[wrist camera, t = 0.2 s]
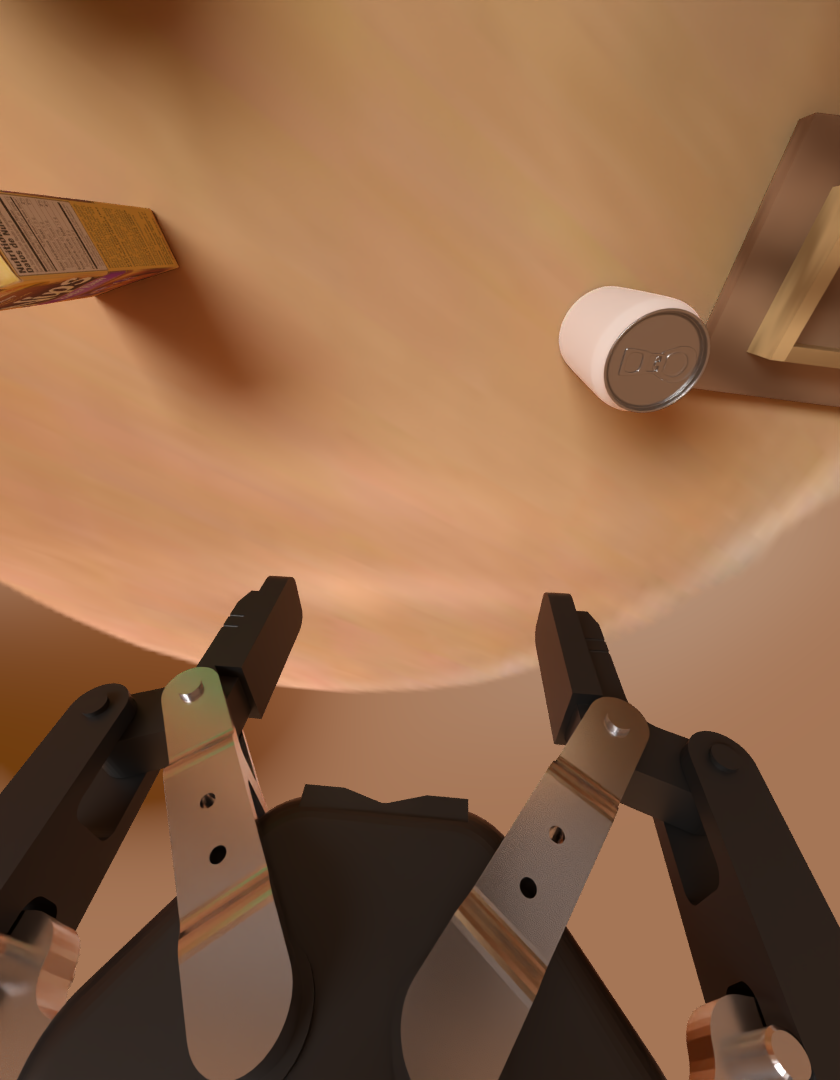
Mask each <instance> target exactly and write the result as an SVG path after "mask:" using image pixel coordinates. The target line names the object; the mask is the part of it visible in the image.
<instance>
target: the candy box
mask: <svg viewBox="0 0 840 1080" xmlns="http://www.w3.org/2000/svg"><path fill="white" fill-rule="evenodd" d="M176 268H179V266H178V264H177V262H176V260H175V258H174V256H173V254H172V252H171V250H170V248H169V245H168V243H167V241H166V239H165V237H164V235H163V233H162V231H161V229H160V227H159V225H158V223H157V221H156V219H155V216H154V214H153V212H152V211H151V209H150V208H141V207H134V206H125V205H117V204H110V203H102V202H94V201H85V200H77V199H69V198H61V197H52V196H45V195H37V194H28V193H19V192H10V191H2V190H0V311H2V310H8V309H15V308H22V307H29V306H36V305H42V304H49V303H55V302H62V301H68V300H74V299H81V298H88V297H93V296H96V295H99V294H102V293H105V292H107V291H110V290H112V289H115V288H118V287H121V286H124V285H127V284H130V283H133V282H136V281H139V280H142V279H145V278H148V277H151V276H154V275H157V274H160V273H163V272H166V271H169V270H172V269H176Z"/></svg>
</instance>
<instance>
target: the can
mask: <svg viewBox="0 0 840 1080" xmlns="http://www.w3.org/2000/svg"><path fill="white" fill-rule="evenodd" d="M559 347H560V352H561V355H562V357H563V359H564V361H565V362H566V363H567V365H568V366H569V367H570V368H571V369H572V370H573V371H574V372H575V374H576V375H577V376H578V377H579V378H580V379H581V380H582V381H583V382H584V383H585V384H586V385H587V386H588V387H589V388H590V389H591V390H592V391H593V392H594V393H595V394H596V395H597V396H598V397H599V398H600V399H601V400H602V401H603V402H605V403H606V404H608V405H609V406H611V407H613V408H616V409H619V410H623V411H631V412H637V413H647V412H653V411H657V410H661V409H663V408H666V407H668V406H670V405H672V404H674V403H675V402H677V401H678V400H680V399H681V398H682V397H684V396H685V395H686V394H687V393H688V392H689V391H690V390H691V389H692V388H693V387H694V386H695V384H696V383H697V382H698V380H699V379H700V377H701V376H702V374H703V372H704V370H705V368H706V365H707V362H708V359H709V354H710V337H709V333H708V330H707V328H706V326H705V324H704V323H703V322H702V320H701V319H700V317H699V315H698V314H697V313H696V311H695V310H694V309H693V308H692V307H690V306H689V305H688V304H686V303H684V302H683V301H680V300H678V299H675V298H672V297H668V296H663V295H659V294H654V293H649V292H644V291H639V290H634V289H629V288H623V287H617V286H606V287H601V288H597V289H594V290H592V291H590V292H588V293H586V294H585V295H583V296H582V297H581V298H580V299H578V300H577V301H576V302H575V303H574V304H573V306H572V307H571V308H570V309H569V311H568V312H567V314H566V316H565V318H564V320H563V322H562V325H561V329H560V334H559Z"/></svg>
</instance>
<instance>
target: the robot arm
mask: <svg viewBox="0 0 840 1080" xmlns="http://www.w3.org/2000/svg"><path fill="white" fill-rule="evenodd" d="M301 624H302V608H301V604H300V599H299V595H298V591H297V586H296V582H295V579H294V578H293V577H282V576H269V577H268V578H267V579H266V580H265V582H264V584H263V585H262V587H261V589H260V590H259V591H251V592H250V593H248V594H247V595H246V596H245V597H243V598H242V599H241V600H240V601H238V603H237V604H236V606H235V608H234V609H233V611H232V612H231V614H230V617H228V618H227V620H226V622H225V623H224V627H222V628H221V629H220V631H219V632H218V634H217V636H216V637H215V639H214V640H213V642H212V643H211V645H210V647H209V648H208V650H207V651H206V653H205V654H204V656H203V657H202V659H201V661H200V662H199V664H198V665H197V667H196V668H192V669H189V670H186V671H184V672H182V673H180V674H179V675H177V676H176V677H175V678H173V679H172V680H171V681H170V682H169V683H168V684H167V686H166V687H165V688H161V689H155V690H151V691H146V692H141V693H136V694H132V695H131V694H130V693H129V691H128V690H127V688H126V687H125V686H123V685H121V684H105V685H102V686H99V687H96V688H94V689H92V690H90V691H88V692H86V693H85V694H83V695H82V696H80V697H79V698H78V699H77V700H76V701H75V702H74V703H73V704H72V705H71V706H70V707H69V708H68V710H67V711H66V712H65V713H64V715H63V716H62V717H61V719H60V720H59V721H58V722H57V723H56V725H55V726H54V727H53V728H52V730H51V731H50V732H49V734H48V735H47V736H46V737H45V738H44V740H43V741H42V742H41V744H40V745H39V746H38V747H37V748H36V750H35V751H34V752H33V753H32V755H31V756H30V757H29V759H28V760H27V761H26V762H25V763H24V765H23V766H22V767H21V769H20V770H19V771H18V772H17V774H16V775H15V776H14V778H13V779H12V780H11V781H10V782H9V784H8V785H7V786H6V787H5V789H4V790H3V791H2V792H1V794H0V1080H667V1079H666V1078H665V1076H664V1074H663V1072H662V1071H661V1069H660V1068H659V1066H658V1064H657V1063H656V1061H655V1060H654V1058H653V1057H652V1055H651V1053H650V1052H649V1050H648V1049H647V1048H646V1046H645V1045H644V1043H643V1042H642V1040H641V1039H640V1037H639V1035H638V1034H637V1032H636V1031H635V1029H634V1028H633V1026H632V1025H631V1023H630V1022H629V1020H628V1019H627V1017H626V1016H625V1014H624V1013H623V1011H622V1010H621V1008H620V1007H619V1006H618V1004H617V1002H616V1001H615V999H614V998H613V996H612V995H611V993H610V992H609V990H608V989H607V987H606V986H605V984H604V983H603V981H602V980H601V978H600V977H599V975H598V974H597V972H596V971H595V969H594V968H593V966H592V965H591V963H590V962H589V960H588V959H587V957H586V956H585V954H584V953H583V951H582V950H581V948H580V947H579V945H578V944H577V942H576V941H575V939H574V938H573V936H572V934H571V933H570V931H569V930H568V929H567V927H566V925H567V922H568V920H569V918H570V916H571V914H572V912H573V909H574V907H575V905H576V903H577V900H578V898H579V896H580V894H581V892H582V889H583V887H584V885H585V883H586V881H587V878H588V876H589V874H590V872H591V869H592V867H593V865H594V863H595V860H596V859H597V856H598V854H599V852H600V849H601V848H602V845H603V843H604V841H605V839H606V837H607V834H608V832H609V830H610V828H611V826H612V823H613V821H614V819H615V816H616V814H617V811H618V805H619V803H622V804H624V805H627V806H629V807H631V808H634V809H636V810H638V811H640V812H643V813H645V814H647V815H650V816H652V817H653V819H654V823H655V827H656V830H657V833H658V837H659V840H660V844H661V848H662V851H663V855H664V858H665V862H666V865H667V869H668V872H669V876H670V879H671V883H672V886H673V890H674V894H675V897H676V901H677V904H678V908H679V911H680V915H681V918H682V922H683V925H684V929H685V932H686V936H687V940H688V943H689V947H690V950H691V954H692V957H693V961H694V964H695V968H696V971H697V975H698V979H699V982H700V985H701V989H702V992H703V996H704V1000H705V1003H706V1004H704V1005H702V1006H700V1007H698V1008H696V1009H695V1010H694V1011H693V1012H692V1014H691V1016H690V1018H689V1020H688V1023H687V1030H686V1042H687V1049H688V1055H689V1065H690V1075H689V1080H840V927H839V925H838V924H837V922H836V920H835V918H834V916H833V914H832V912H831V910H830V908H829V906H828V904H827V902H826V900H825V898H824V896H823V894H822V892H821V891H820V889H819V886H818V885H817V883H816V881H815V879H814V877H813V875H812V873H811V871H810V869H809V867H808V865H807V863H806V861H805V859H804V857H803V855H802V854H801V852H800V850H799V848H798V846H797V844H796V842H795V840H794V838H793V836H792V834H791V832H790V830H789V828H788V826H787V824H786V822H785V820H784V818H783V816H782V815H781V813H780V811H779V809H778V807H777V805H776V803H775V801H774V799H773V797H772V795H771V793H770V791H769V789H768V787H767V785H766V784H765V781H764V779H763V778H762V775H761V774H760V772H759V770H758V768H757V766H756V764H755V762H754V761H753V759H752V758H751V757H750V755H749V754H748V753H747V752H746V751H745V750H744V749H743V748H742V747H741V746H740V745H739V744H737V743H735V742H734V741H733V740H731V739H729V738H728V737H726V736H724V735H721V734H719V733H715V732H711V731H702V732H697V733H695V734H694V735H692V736H691V738H690V739H687V738H685V737H682V736H679V735H676V734H674V733H671V732H668V731H665V730H663V729H660V728H658V727H655V726H653V725H651V724H649V723H648V722H647V721H646V720H645V718H644V717H643V715H642V714H641V713H640V712H639V711H638V710H637V709H636V708H635V707H634V706H632V705H631V704H629V703H628V701H627V699H626V697H625V694H624V691H623V689H622V686H621V683H620V680H619V678H618V675H617V673H616V670H615V667H614V664H613V661H612V659H611V656H610V654H609V653H608V651H609V650H608V648H607V645H606V642H604V637H603V634H602V631H601V629H600V626H599V624H598V623H597V622H596V621H595V620H594V618H593V617H592V616H591V615H590V614H589V613H588V612H585V611H576V609H575V605H574V602H573V599H572V596H571V595H570V594H564V593H547V592H546V593H544V595H543V599H542V603H541V607H540V612H539V616H538V620H537V624H536V631H535V643H536V649H537V655H538V660H539V665H540V671H541V676H542V681H543V686H544V692H545V697H546V703H547V708H548V713H549V719H550V724H551V730H552V735H553V740H554V744H559V745H566V746H565V747H564V749H563V751H562V752H561V754H560V755H559V757H558V758H557V760H556V761H553V762H552V764H551V765H550V766H549V768H548V769H547V771H546V773H545V774H544V776H543V777H542V779H541V780H540V782H539V784H538V785H537V787H536V789H535V790H534V792H533V793H532V795H531V796H530V798H529V800H528V801H527V803H526V804H525V806H524V808H523V809H522V811H521V812H520V814H519V816H518V817H517V819H516V820H515V822H514V823H513V825H512V827H511V828H510V830H509V832H508V833H507V835H506V836H505V837H504V835H503V834H501V833H500V832H499V831H498V830H497V829H496V828H495V827H494V826H493V825H491V824H490V823H489V822H487V821H486V820H484V819H482V818H481V817H479V816H477V815H475V814H473V813H470V812H468V799H460V798H449V797H439V796H438V797H437V796H428V795H427V796H422V797H417V798H412V799H406V800H401V801H396V802H391V803H381V802H378V801H376V800H373V799H370V798H368V797H366V796H363V795H361V794H358V793H356V792H354V791H351V790H349V789H346V788H341V787H331V786H330V787H329V786H320V785H308V784H306V785H305V787H304V791H303V794H302V797H299V798H295V799H292V800H289V801H286V802H284V803H282V804H280V805H278V806H276V807H274V808H273V809H271V810H269V811H268V808H267V805H266V802H265V799H264V797H263V794H262V791H261V788H260V786H259V782H258V779H257V775H256V772H255V768H254V765H253V762H252V758H251V755H250V751H249V748H248V745H247V741H246V738H245V734H244V731H243V727H244V725H245V723H246V721H247V719H248V718H259V719H261V718H262V716H263V714H264V712H265V709H266V707H267V704H268V702H269V700H270V697H271V695H272V693H273V691H274V689H275V686H276V684H277V682H278V679H279V677H280V675H281V672H282V670H283V668H284V665H285V663H286V661H287V658H288V656H289V654H290V651H291V649H292V647H293V644H294V642H295V640H296V638H297V635H298V633H299V631H300V628H301ZM162 768H164V770H163V780H164V789H165V797H166V806H167V815H168V823H169V832H170V840H171V849H172V858H173V867H174V875H175V885H176V893H177V896H176V897H175V898H174V899H173V900H172V901H171V902H170V903H169V904H168V905H167V906H166V907H165V908H164V909H162V910H161V911H160V912H159V913H158V914H157V915H156V916H155V917H154V918H153V919H152V920H151V921H150V922H149V923H148V924H147V925H146V926H145V927H144V928H143V929H141V931H140V932H138V933H137V934H136V935H135V936H134V937H133V938H132V939H131V940H130V941H129V942H128V943H127V944H126V945H125V946H124V947H123V948H122V949H121V950H119V951H118V952H117V953H116V954H115V955H114V956H113V957H112V958H111V959H110V960H109V961H108V962H107V963H106V964H105V965H104V966H103V967H102V968H101V969H100V970H99V971H97V972H96V973H95V974H94V975H93V976H92V977H91V978H90V979H89V980H88V981H87V982H86V983H85V984H84V985H83V986H82V987H81V988H80V989H79V990H78V991H77V992H76V993H75V994H74V995H73V996H72V997H71V998H70V999H69V1000H68V1001H67V1000H66V999H67V992H68V989H69V987H70V986H71V984H72V982H73V979H74V976H75V968H76V965H77V962H78V958H79V954H80V939H79V936H78V934H77V932H76V929H77V927H78V925H79V923H80V921H81V919H82V918H83V916H84V914H85V912H86V910H87V908H88V906H89V904H90V902H91V900H92V898H93V897H94V894H95V893H96V891H97V889H98V887H99V885H100V883H101V881H102V879H103V878H104V875H105V874H106V872H107V870H108V868H109V866H110V864H111V862H112V860H113V859H114V857H115V855H116V853H117V851H118V849H119V847H120V845H121V843H122V841H123V839H124V838H125V836H126V834H127V832H128V830H129V828H130V826H131V824H132V822H133V820H134V819H135V817H136V815H137V813H138V811H139V809H140V807H141V805H142V803H143V801H144V799H145V798H146V796H147V794H148V792H149V790H150V788H151V786H152V784H153V782H154V781H155V778H156V777H157V775H158V773H159V771H160V769H162Z"/></svg>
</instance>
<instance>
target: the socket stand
mask: <svg viewBox="0 0 840 1080" xmlns="http://www.w3.org/2000/svg"><path fill="white" fill-rule="evenodd" d="M706 328H707V330H708V333H709V337H710V354H709V359H708V362H707V365H706V368H705V370H704V372H703V374H702V376H701V377H700V379H699V380H698V382H697V383H696V384H695V386H694V387H693V388H695V389H703V390H711V391H719V392H727V393H734V394H742V395H750V396H758V397H765V398H773V399H781V400H789V401H797V402H804V403H812V404H820V405H828V406H835V407H840V116H839V115H831V114H823V113H814V114H812V115H809V116H807V117H804V118H802V119H799V121H798V123H797V126H796V128H795V130H794V132H793V134H792V137H791V139H790V141H789V143H788V145H787V148H786V150H785V152H784V154H783V156H782V159H781V161H780V163H779V165H778V167H777V170H776V172H775V174H774V176H773V178H772V181H771V183H770V185H769V187H768V189H767V192H766V194H765V196H764V198H763V200H762V203H761V205H760V207H759V209H758V212H757V214H756V216H755V218H754V220H753V223H752V225H751V227H750V229H749V231H748V234H747V236H746V238H745V240H744V242H743V245H742V247H741V249H740V251H739V253H738V256H737V258H736V260H735V262H734V264H733V267H732V269H731V271H730V273H729V275H728V278H727V280H726V282H725V284H724V287H723V289H722V291H721V293H720V295H719V298H718V300H717V302H716V304H715V306H714V309H713V311H712V313H711V315H710V317H709V320H708V322H707V324H706Z"/></svg>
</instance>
